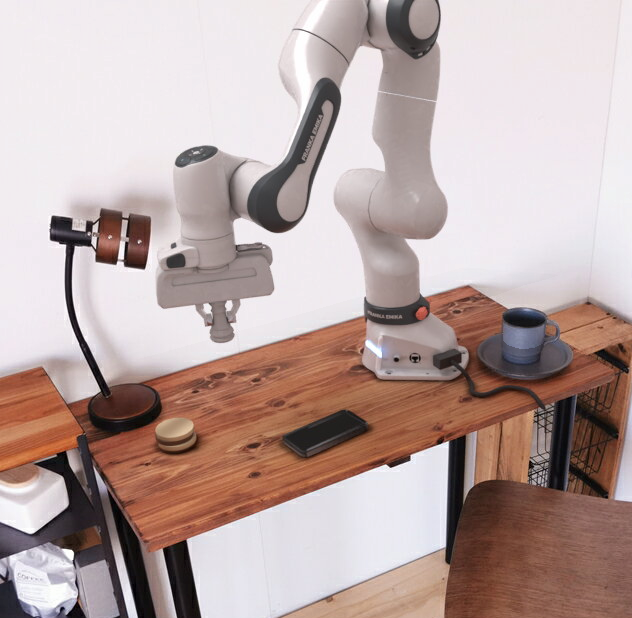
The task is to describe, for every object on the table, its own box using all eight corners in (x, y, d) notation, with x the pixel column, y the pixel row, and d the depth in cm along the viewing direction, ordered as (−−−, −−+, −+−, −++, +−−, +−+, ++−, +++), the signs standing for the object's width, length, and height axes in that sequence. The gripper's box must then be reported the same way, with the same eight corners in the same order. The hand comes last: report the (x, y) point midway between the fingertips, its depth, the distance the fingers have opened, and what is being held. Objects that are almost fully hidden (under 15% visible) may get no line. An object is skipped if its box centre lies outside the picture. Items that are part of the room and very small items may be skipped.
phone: (370, 423, 169) (303, 453, 161) (370, 429, 169) (303, 458, 162) (345, 407, 174) (279, 435, 167) (345, 412, 175) (280, 440, 167)
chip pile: (204, 435, 170) (202, 419, 169) (186, 457, 165) (183, 440, 163) (169, 430, 173) (165, 414, 171) (149, 452, 167) (145, 435, 165)
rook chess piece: (230, 344, 160) (224, 302, 155) (206, 343, 160) (200, 301, 156) (238, 333, 163) (233, 292, 159) (215, 332, 164) (209, 291, 160)
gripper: (268, 234, 157) (276, 308, 165) (148, 248, 154) (161, 323, 161) (273, 247, 152) (281, 322, 160) (149, 261, 149) (163, 338, 156)
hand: (220, 323), depth 160 cm, fingers closed on rook chess piece, 3 cm apart
